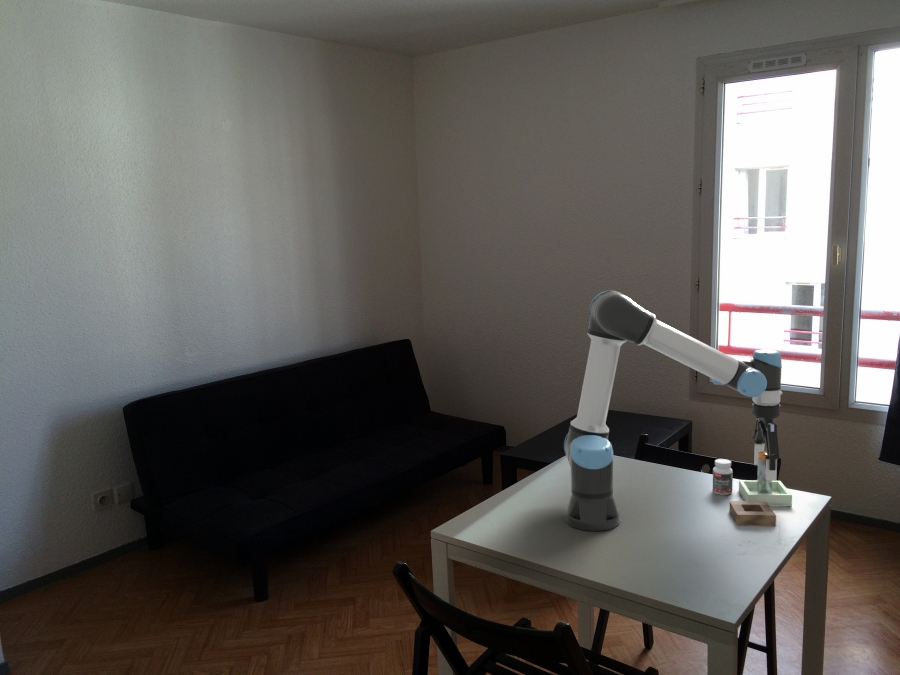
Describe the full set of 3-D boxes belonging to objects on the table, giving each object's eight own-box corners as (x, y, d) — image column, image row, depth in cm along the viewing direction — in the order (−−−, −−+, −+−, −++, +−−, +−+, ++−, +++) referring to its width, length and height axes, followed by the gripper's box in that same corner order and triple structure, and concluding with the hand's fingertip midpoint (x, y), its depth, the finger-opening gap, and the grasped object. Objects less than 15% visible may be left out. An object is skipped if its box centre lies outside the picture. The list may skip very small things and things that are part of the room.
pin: (759, 497, 216) (759, 455, 214) (755, 492, 220) (756, 451, 218) (773, 498, 215) (774, 455, 213) (769, 493, 219) (770, 451, 217)
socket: (737, 525, 200) (737, 514, 200) (729, 510, 210) (729, 500, 209) (775, 525, 198) (776, 515, 198) (766, 511, 208) (766, 501, 208)
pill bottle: (712, 494, 223) (712, 463, 221) (713, 488, 228) (713, 457, 226) (732, 496, 221) (732, 464, 219) (732, 489, 226) (733, 459, 224)
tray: (748, 505, 213) (748, 494, 212) (738, 491, 224) (738, 480, 224) (791, 506, 211) (792, 495, 210) (780, 491, 222) (780, 480, 222)
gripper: (792, 413, 200) (790, 487, 204) (768, 392, 225) (767, 458, 228) (763, 413, 202) (762, 486, 205) (743, 392, 226) (742, 458, 229)
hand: (764, 472), depth 216 cm, fingers open, 13 cm apart
